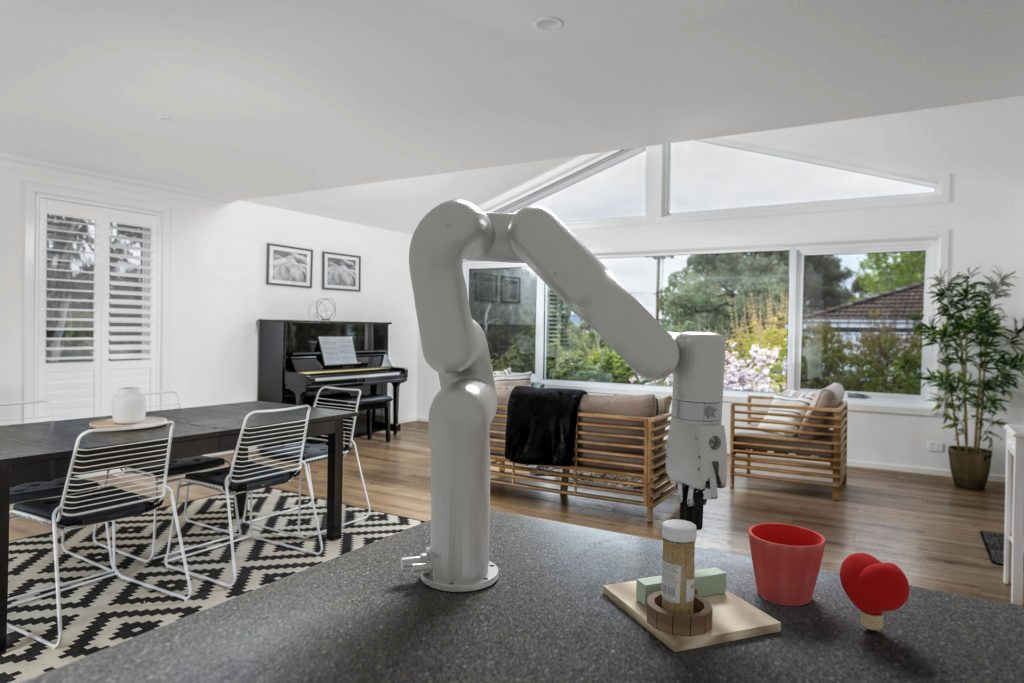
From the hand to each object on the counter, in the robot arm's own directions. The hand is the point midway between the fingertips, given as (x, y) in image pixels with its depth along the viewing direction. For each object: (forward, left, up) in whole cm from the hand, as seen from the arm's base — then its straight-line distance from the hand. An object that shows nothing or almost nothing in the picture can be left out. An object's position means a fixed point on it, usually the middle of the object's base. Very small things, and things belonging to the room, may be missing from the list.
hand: (690, 528), depth 104 cm
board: (-5, -6, -10) cm, 13 cm away
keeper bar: (-5, -4, -8) cm, 10 cm away
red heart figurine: (+15, -20, -10) cm, 27 cm away
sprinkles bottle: (-10, -11, -9) cm, 17 cm away
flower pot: (+12, -7, -10) cm, 17 cm away
